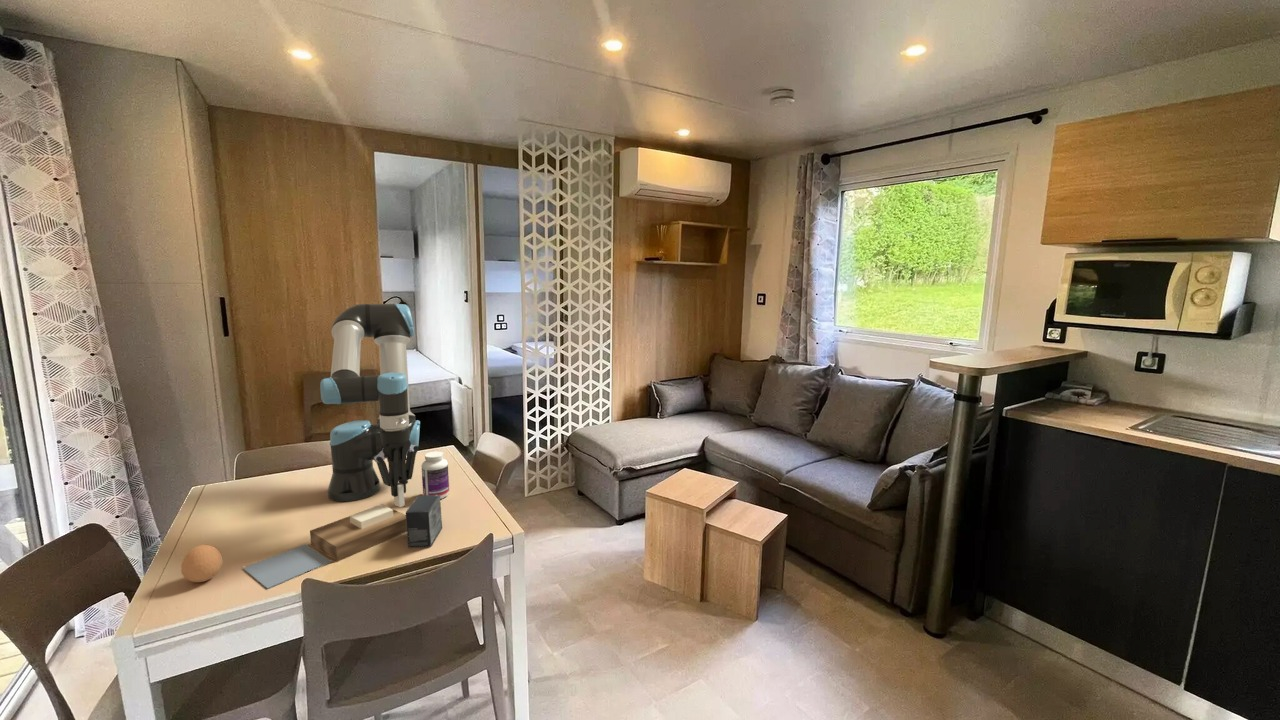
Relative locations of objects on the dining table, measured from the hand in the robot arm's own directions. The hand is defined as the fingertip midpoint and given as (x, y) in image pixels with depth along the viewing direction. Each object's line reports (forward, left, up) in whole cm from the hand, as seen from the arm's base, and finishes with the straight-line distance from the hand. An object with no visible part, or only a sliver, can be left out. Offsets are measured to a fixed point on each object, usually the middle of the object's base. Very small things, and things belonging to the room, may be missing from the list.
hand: (399, 505), depth 150 cm
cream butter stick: (0, -8, -1) cm, 8 cm away
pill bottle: (-7, +17, -5) cm, 19 cm away
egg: (-10, -43, -6) cm, 45 cm away
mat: (-1, -29, -5) cm, 30 cm away
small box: (+14, -1, -6) cm, 15 cm away
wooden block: (0, -11, -5) cm, 12 cm away
